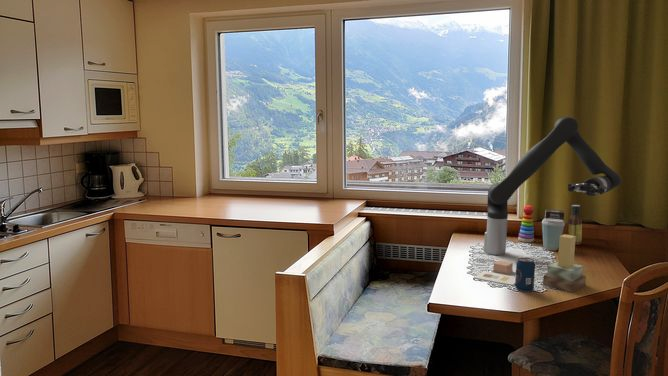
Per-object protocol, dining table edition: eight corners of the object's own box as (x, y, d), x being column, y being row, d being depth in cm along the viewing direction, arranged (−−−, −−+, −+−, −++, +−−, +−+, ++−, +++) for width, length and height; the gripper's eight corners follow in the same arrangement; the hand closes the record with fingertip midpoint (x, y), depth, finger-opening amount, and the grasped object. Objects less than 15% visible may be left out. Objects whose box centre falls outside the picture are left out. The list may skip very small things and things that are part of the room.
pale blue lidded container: (543, 242, 297) (545, 211, 294) (542, 239, 303) (544, 209, 300) (562, 243, 294) (564, 212, 291) (561, 240, 300) (563, 210, 297)
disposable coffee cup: (540, 245, 290) (542, 216, 288) (563, 247, 286) (565, 217, 284) (539, 250, 280) (541, 220, 278) (563, 252, 276) (565, 222, 274)
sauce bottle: (581, 243, 295) (584, 204, 292) (580, 245, 289) (583, 207, 286) (567, 241, 297) (570, 203, 294) (566, 244, 292) (569, 205, 289)
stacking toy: (535, 243, 294) (537, 207, 291) (518, 242, 295) (521, 206, 292) (533, 239, 302) (535, 204, 299) (517, 238, 303) (519, 203, 300)
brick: (493, 272, 246) (493, 263, 245) (498, 269, 251) (499, 260, 250) (506, 275, 242) (507, 265, 242) (512, 271, 247) (512, 262, 246)
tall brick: (557, 265, 228) (559, 236, 226) (562, 263, 231) (564, 234, 229) (568, 268, 225) (571, 238, 223) (573, 265, 228) (575, 236, 226)
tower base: (542, 285, 229) (544, 265, 228) (555, 278, 238) (557, 259, 236) (573, 292, 221) (574, 272, 220) (585, 285, 229) (586, 265, 228)
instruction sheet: (474, 278, 237) (474, 277, 237) (483, 271, 246) (483, 270, 246) (513, 285, 228) (513, 284, 228) (521, 278, 237) (521, 277, 237)
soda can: (512, 286, 227) (513, 257, 225) (529, 286, 228) (531, 256, 226) (518, 292, 220) (520, 262, 218) (536, 292, 221) (538, 261, 219)
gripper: (579, 175, 253) (563, 179, 242) (613, 179, 244) (598, 183, 232) (577, 192, 255) (562, 197, 243) (611, 196, 245) (597, 201, 233)
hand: (580, 190), depth 238 cm, fingers open, 8 cm apart
